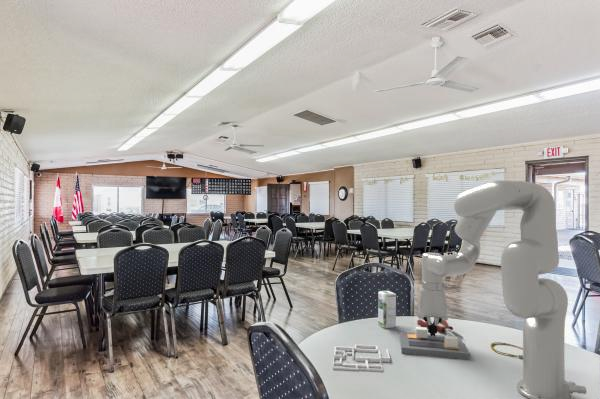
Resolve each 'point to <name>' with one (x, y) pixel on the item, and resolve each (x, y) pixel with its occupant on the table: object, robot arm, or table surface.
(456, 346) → the tab
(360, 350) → the floor plan model
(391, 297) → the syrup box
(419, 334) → the tab
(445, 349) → the switch panel
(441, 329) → the pliers
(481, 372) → the table surface
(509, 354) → the extension cord
